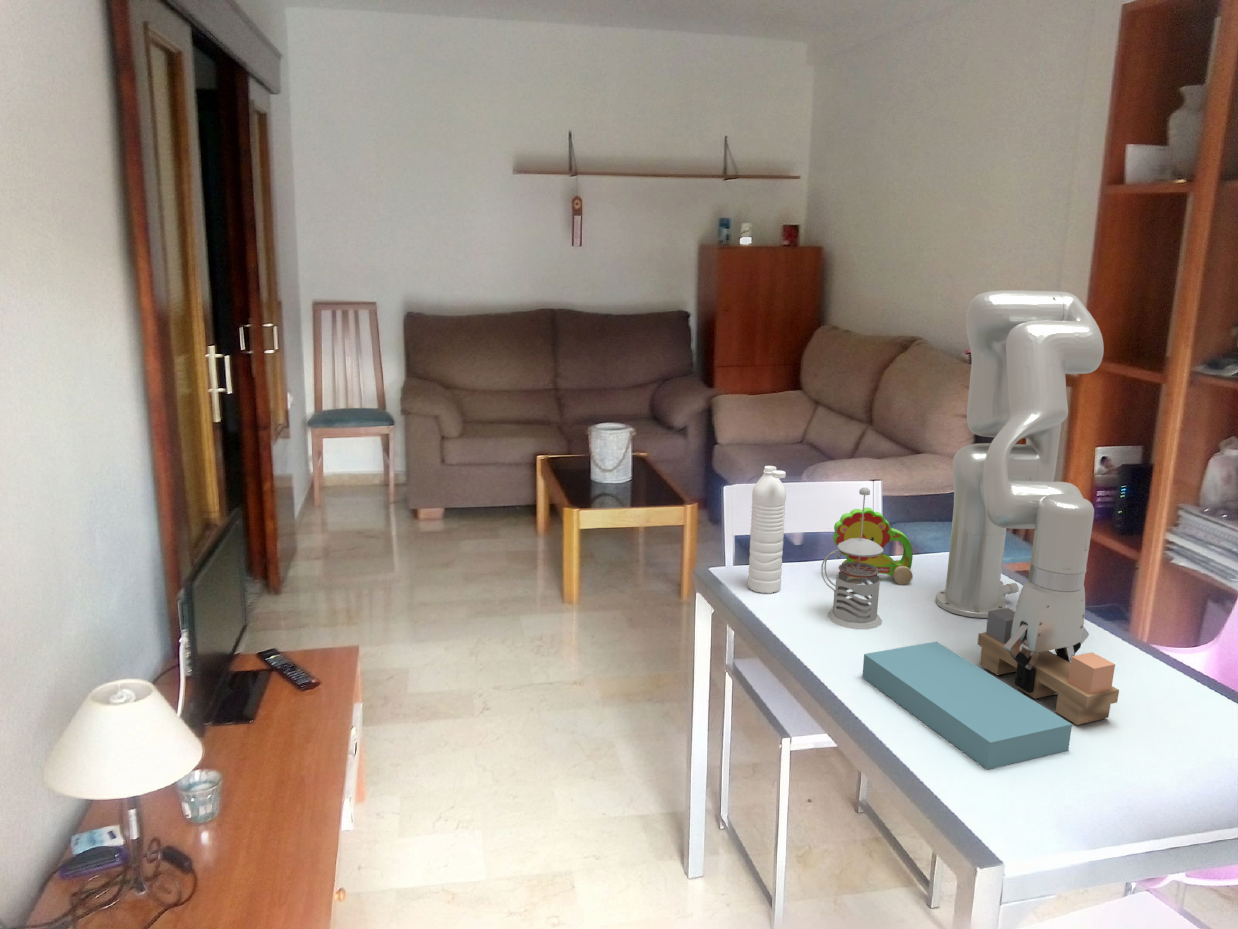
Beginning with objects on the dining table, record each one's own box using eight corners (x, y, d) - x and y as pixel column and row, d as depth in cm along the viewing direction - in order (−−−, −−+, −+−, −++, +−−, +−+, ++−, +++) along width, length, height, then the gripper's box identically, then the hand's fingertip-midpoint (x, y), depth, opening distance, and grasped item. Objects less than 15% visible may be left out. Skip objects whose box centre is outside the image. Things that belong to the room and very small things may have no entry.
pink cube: (1088, 677, 138) (1092, 652, 137) (1111, 689, 134) (1115, 664, 133) (1067, 681, 136) (1071, 656, 135) (1090, 694, 133) (1094, 668, 132)
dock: (934, 663, 153) (936, 641, 152) (1068, 750, 128) (1072, 724, 127) (862, 677, 149) (864, 654, 148) (987, 769, 123) (990, 742, 122)
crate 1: (1005, 630, 153) (1008, 607, 152) (1023, 640, 149) (1026, 617, 148) (985, 633, 152) (988, 611, 151) (1003, 644, 148) (1006, 621, 147)
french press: (873, 633, 165) (884, 498, 159) (810, 619, 171) (819, 488, 165) (889, 615, 173) (900, 485, 167) (828, 602, 179) (837, 476, 173)
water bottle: (743, 583, 188) (748, 463, 182) (773, 581, 189) (779, 461, 183) (758, 599, 180) (765, 474, 173) (790, 597, 181) (797, 472, 175)
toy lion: (906, 576, 193) (912, 506, 189) (912, 586, 187) (919, 514, 184) (828, 574, 194) (833, 503, 190) (832, 583, 188) (837, 511, 185)
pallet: (1004, 655, 155) (1007, 628, 154) (1114, 721, 135) (1119, 690, 134) (975, 661, 153) (978, 633, 152) (1082, 728, 133) (1087, 697, 132)
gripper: (1080, 561, 146) (1064, 666, 150) (992, 575, 140) (979, 683, 144) (1120, 578, 139) (1103, 687, 144) (1030, 593, 133) (1014, 706, 138)
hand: (1041, 684), depth 144 cm, fingers closed on pallet, 6 cm apart
